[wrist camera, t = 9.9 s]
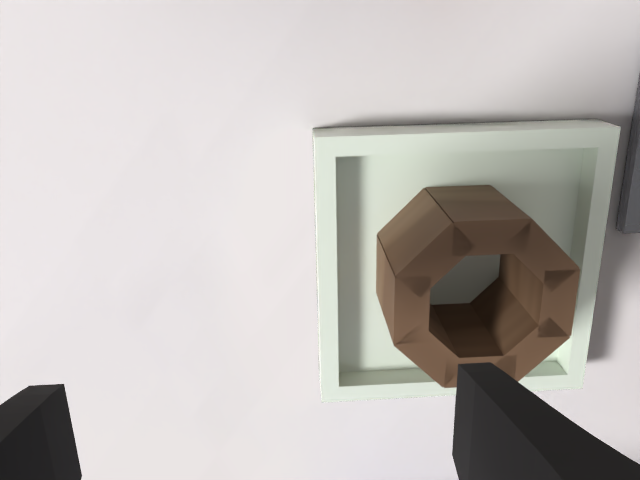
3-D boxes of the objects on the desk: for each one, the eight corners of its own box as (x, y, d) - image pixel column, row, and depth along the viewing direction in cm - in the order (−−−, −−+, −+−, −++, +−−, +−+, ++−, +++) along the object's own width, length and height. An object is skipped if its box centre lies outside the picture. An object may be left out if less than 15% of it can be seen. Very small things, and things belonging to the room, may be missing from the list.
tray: (564, 366, 23) (582, 388, 22) (319, 378, 23) (322, 402, 21) (596, 119, 20) (620, 127, 18) (312, 128, 19) (314, 137, 18)
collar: (537, 183, 20) (587, 216, 16) (521, 326, 22) (565, 382, 18) (377, 188, 20) (396, 223, 16) (375, 333, 21) (392, 390, 18)
